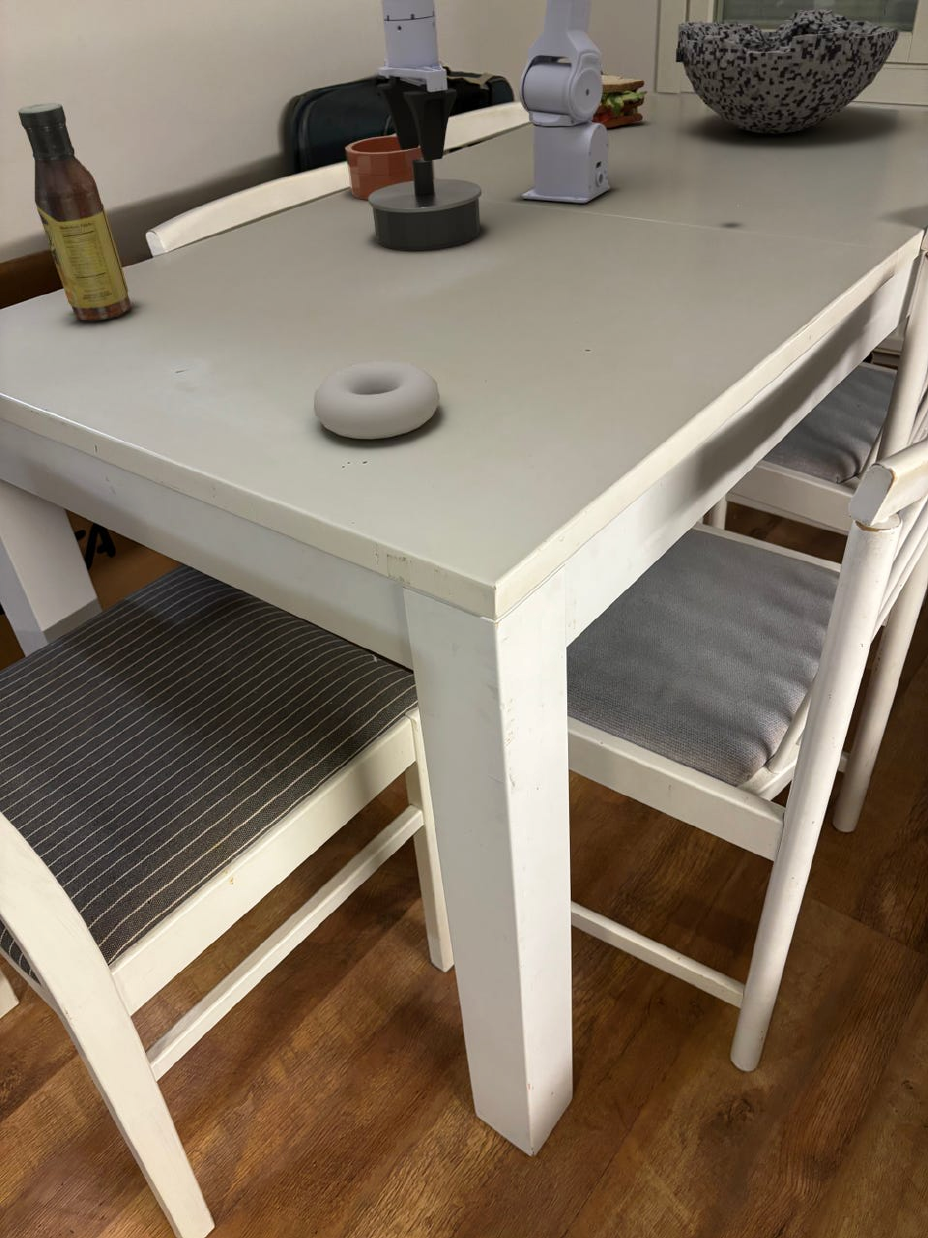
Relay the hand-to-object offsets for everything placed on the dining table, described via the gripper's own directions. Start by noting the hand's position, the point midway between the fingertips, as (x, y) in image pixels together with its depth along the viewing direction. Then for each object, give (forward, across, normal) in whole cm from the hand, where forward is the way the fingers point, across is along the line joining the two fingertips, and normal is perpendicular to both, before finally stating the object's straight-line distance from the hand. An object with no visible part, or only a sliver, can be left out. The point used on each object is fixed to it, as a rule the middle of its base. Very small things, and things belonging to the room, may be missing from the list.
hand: (421, 153), depth 111 cm
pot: (+9, -25, +4) cm, 27 cm away
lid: (+5, 0, 0) cm, 5 cm away
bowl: (+9, -20, +68) cm, 71 cm away
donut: (+10, +46, -22) cm, 52 cm away
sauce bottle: (+10, +6, -40) cm, 41 cm away
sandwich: (+5, -44, +48) cm, 65 cm away
